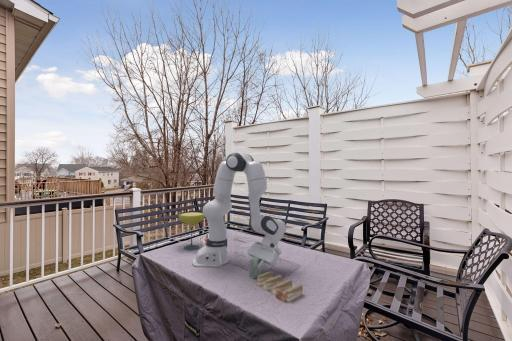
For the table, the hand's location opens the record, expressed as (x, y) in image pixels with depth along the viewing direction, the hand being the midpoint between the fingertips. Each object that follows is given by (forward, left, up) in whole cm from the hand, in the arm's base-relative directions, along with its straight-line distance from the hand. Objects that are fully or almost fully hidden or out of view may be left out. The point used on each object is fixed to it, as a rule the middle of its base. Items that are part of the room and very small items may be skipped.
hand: (255, 266), depth 136 cm
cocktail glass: (-35, +55, -6) cm, 66 cm away
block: (+1, 0, -5) cm, 5 cm away
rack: (+9, -16, -5) cm, 19 cm away
